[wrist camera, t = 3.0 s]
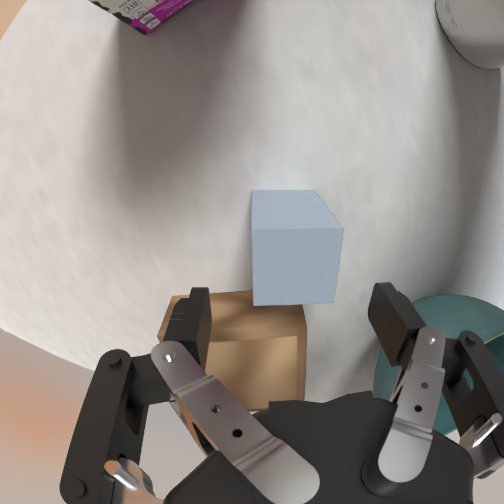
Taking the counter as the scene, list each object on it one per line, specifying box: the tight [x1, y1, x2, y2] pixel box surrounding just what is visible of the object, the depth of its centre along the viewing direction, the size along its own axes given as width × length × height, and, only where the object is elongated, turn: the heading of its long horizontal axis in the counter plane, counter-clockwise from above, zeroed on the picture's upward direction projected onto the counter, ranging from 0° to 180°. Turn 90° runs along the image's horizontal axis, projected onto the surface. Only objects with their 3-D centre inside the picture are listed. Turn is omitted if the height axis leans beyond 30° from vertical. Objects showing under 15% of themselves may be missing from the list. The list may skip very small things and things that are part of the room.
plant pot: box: [373, 295, 504, 436], centre depth 23 cm, size 18×18×12 cm
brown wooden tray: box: [157, 290, 307, 412], centre depth 27 cm, size 12×12×6 cm
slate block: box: [251, 190, 344, 306], centre depth 20 cm, size 5×5×8 cm
